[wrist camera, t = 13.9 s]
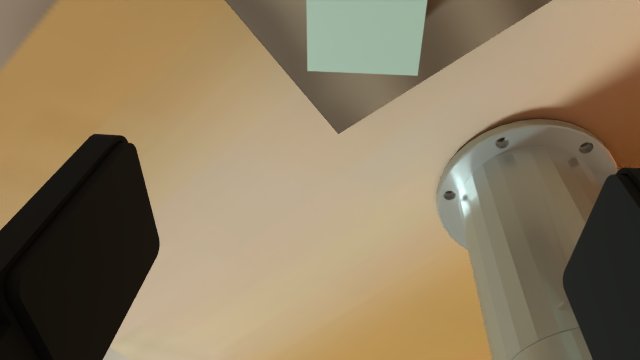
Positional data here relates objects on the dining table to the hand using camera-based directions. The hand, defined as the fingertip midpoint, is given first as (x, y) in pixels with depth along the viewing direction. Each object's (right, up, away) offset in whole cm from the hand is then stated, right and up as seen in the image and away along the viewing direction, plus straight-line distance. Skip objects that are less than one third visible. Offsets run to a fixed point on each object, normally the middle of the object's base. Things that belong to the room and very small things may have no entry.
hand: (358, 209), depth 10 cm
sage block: (+2, +11, +15) cm, 19 cm away
